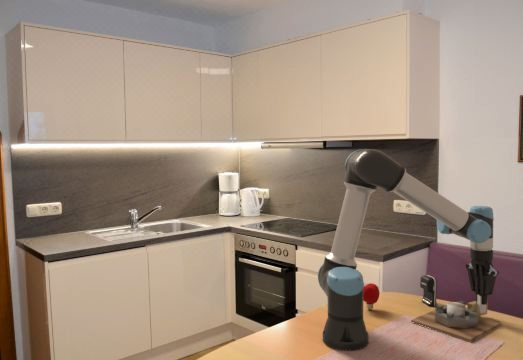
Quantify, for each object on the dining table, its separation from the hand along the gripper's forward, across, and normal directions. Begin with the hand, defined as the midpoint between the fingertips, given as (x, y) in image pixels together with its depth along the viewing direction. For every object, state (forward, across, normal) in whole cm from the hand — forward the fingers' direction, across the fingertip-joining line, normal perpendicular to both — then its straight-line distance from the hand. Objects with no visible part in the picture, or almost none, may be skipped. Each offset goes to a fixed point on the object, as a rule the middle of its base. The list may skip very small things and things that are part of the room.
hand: (481, 312), depth 166 cm
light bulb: (+3, +26, +31) cm, 40 cm away
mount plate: (+3, +1, +11) cm, 12 cm away
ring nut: (+2, +1, +7) cm, 7 cm away
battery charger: (+3, +22, +6) cm, 22 cm away
